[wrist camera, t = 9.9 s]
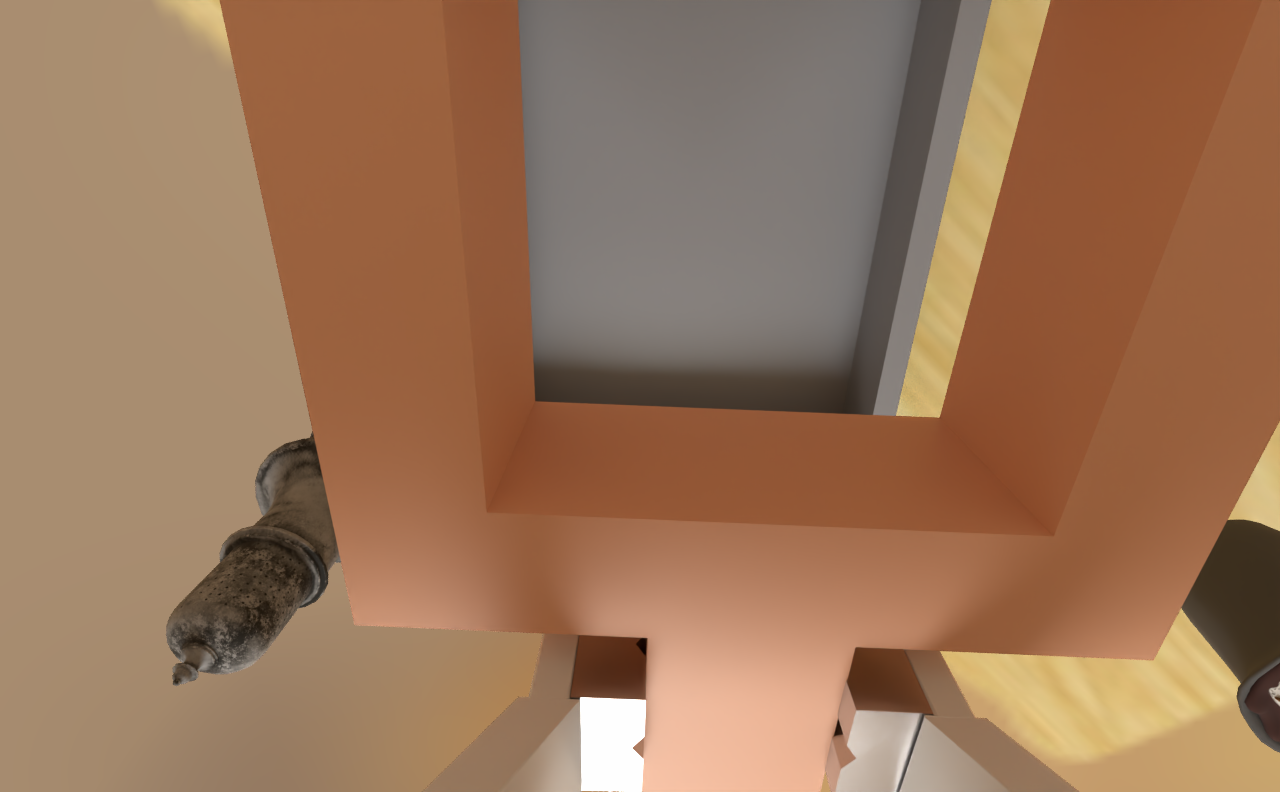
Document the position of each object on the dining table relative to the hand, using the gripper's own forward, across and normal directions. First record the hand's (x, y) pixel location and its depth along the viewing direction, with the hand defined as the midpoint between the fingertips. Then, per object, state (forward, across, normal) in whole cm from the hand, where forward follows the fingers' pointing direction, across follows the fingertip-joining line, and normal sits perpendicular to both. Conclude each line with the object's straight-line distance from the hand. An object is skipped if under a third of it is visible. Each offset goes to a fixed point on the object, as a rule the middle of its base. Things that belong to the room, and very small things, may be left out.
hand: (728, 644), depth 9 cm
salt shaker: (+16, +14, +7) cm, 23 cm away
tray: (+16, 0, -5) cm, 17 cm away
